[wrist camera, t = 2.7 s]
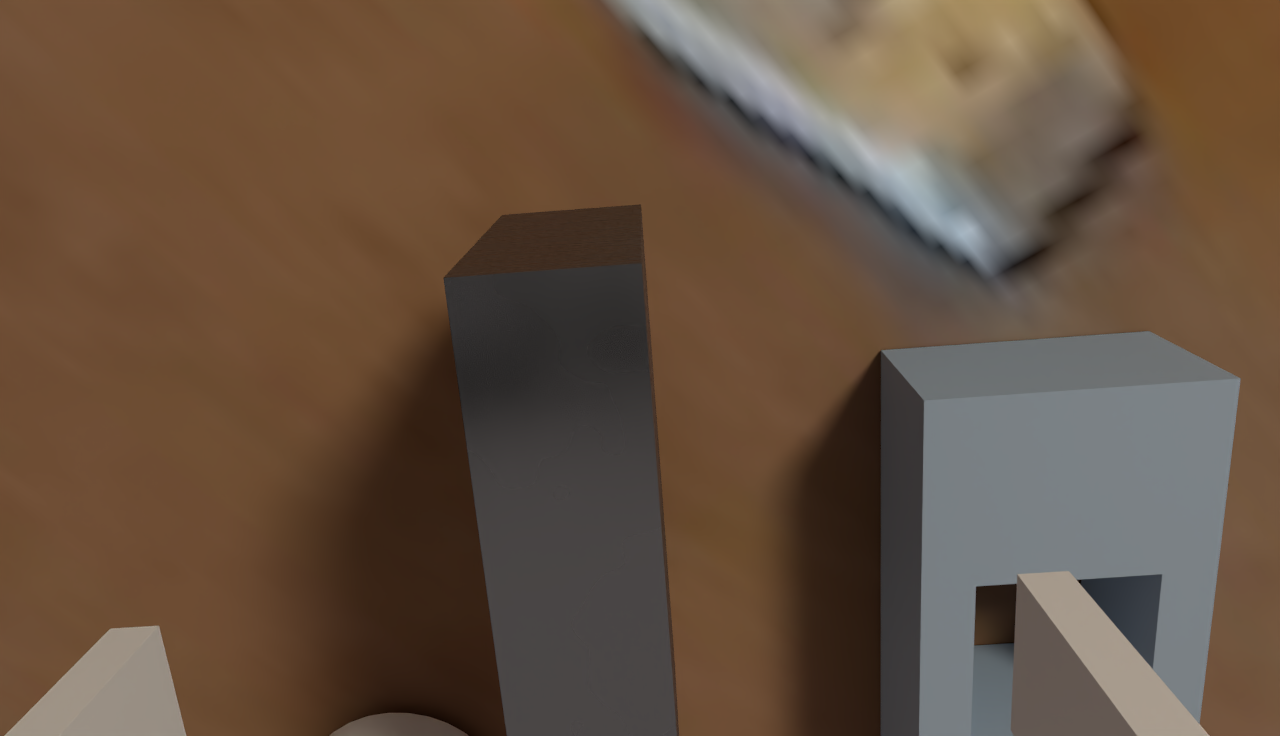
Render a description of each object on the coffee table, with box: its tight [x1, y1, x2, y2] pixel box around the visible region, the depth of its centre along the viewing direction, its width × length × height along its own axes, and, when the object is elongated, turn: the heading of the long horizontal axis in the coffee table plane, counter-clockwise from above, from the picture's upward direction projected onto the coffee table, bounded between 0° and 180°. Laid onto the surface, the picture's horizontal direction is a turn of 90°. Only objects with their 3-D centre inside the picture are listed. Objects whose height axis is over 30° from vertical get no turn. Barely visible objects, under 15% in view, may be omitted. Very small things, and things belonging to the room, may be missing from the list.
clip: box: [444, 205, 679, 736], centre depth 21 cm, size 3×12×10 cm, turn 4°
